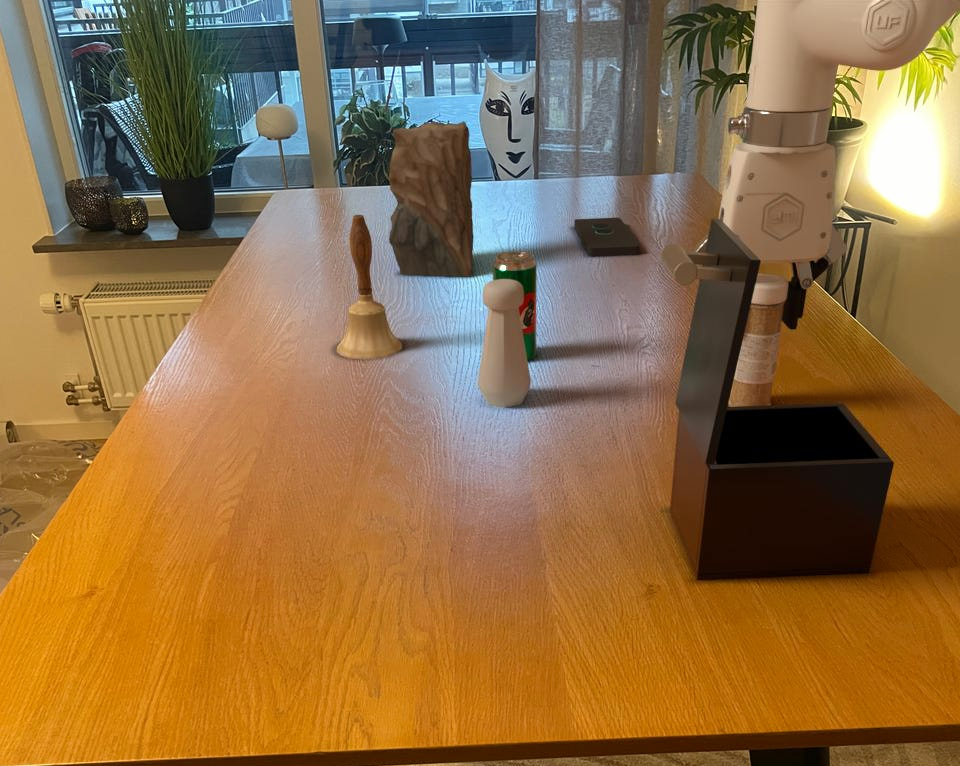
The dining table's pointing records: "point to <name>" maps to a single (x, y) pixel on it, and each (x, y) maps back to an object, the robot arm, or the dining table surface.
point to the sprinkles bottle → (760, 343)
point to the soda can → (525, 272)
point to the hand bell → (366, 306)
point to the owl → (432, 200)
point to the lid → (712, 329)
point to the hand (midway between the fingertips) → (759, 324)
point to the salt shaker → (503, 346)
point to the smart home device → (606, 237)
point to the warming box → (781, 494)
